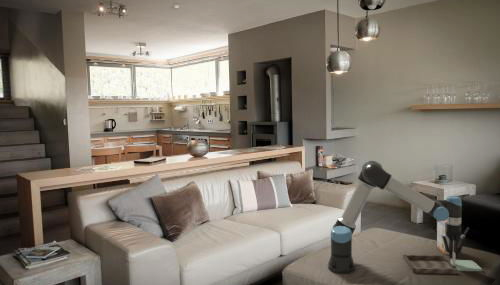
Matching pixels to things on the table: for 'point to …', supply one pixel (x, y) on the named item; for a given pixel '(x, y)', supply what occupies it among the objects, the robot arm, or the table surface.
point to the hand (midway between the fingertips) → (453, 263)
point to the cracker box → (441, 231)
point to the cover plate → (466, 265)
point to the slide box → (429, 264)
